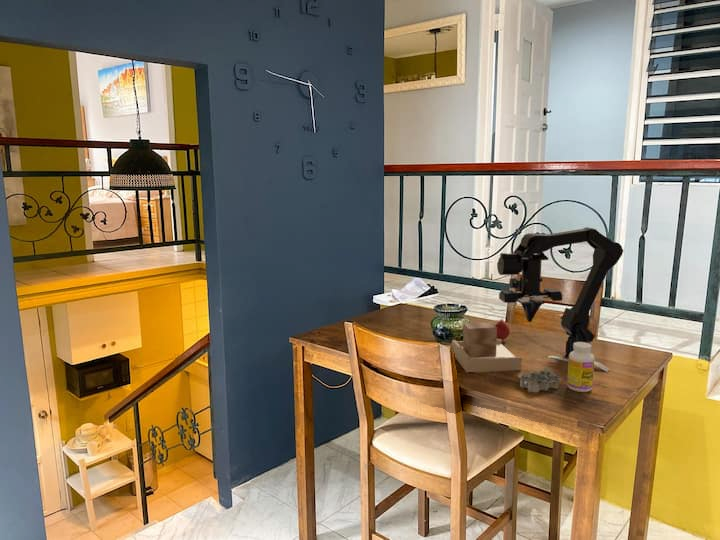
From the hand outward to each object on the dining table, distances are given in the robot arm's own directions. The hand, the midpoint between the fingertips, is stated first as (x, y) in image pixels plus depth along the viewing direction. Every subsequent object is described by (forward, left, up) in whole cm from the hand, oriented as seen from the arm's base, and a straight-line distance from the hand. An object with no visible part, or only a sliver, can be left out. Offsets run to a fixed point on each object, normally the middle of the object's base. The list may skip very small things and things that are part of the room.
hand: (529, 321), depth 175 cm
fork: (-14, -5, -13) cm, 20 cm away
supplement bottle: (-21, +14, -13) cm, 28 cm away
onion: (+15, -12, -13) cm, 23 cm away
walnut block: (+11, +11, -10) cm, 19 cm away
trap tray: (+10, +10, -12) cm, 19 cm away
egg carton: (-11, +19, -13) cm, 26 cm away
